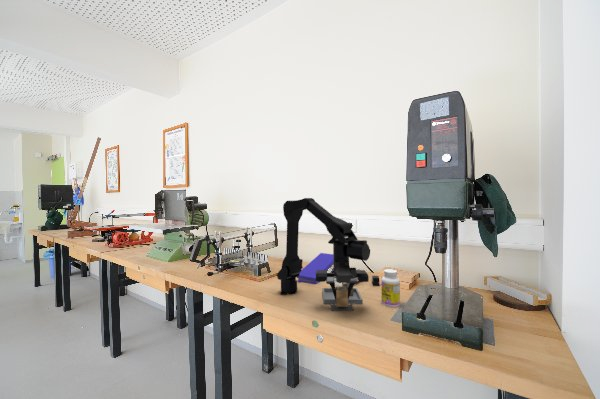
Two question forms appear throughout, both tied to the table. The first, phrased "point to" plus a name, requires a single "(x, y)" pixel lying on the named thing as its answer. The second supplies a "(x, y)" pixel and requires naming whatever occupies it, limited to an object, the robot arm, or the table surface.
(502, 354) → the table surface
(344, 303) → the labelled block
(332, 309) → the rubber mat
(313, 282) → the purple flat box
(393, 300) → the supplement bottle
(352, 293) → the walnut block
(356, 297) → the parts tray
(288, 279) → the robot arm
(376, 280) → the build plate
